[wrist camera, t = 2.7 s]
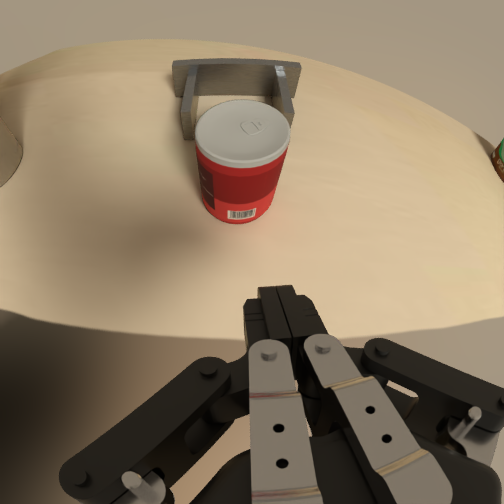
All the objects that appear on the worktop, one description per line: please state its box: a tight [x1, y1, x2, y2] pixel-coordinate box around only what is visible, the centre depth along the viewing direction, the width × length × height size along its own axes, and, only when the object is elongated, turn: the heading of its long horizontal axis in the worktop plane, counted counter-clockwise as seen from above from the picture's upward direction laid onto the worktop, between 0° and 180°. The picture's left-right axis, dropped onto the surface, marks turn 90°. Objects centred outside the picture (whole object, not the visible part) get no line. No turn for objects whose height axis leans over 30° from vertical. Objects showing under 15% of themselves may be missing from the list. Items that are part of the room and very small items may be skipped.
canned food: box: [195, 100, 290, 224], centre depth 26 cm, size 8×8×11 cm
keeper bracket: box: [172, 58, 302, 140], centre depth 34 cm, size 11×18×6 cm, turn 93°
